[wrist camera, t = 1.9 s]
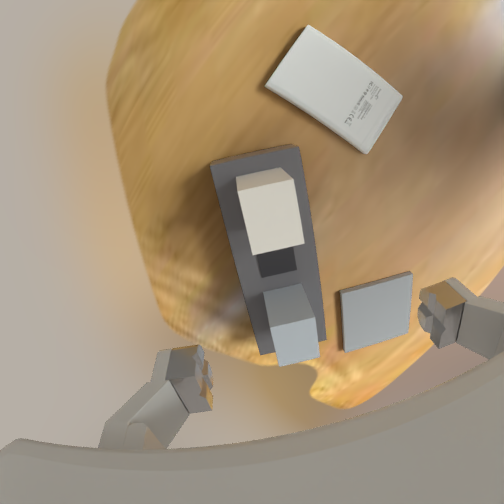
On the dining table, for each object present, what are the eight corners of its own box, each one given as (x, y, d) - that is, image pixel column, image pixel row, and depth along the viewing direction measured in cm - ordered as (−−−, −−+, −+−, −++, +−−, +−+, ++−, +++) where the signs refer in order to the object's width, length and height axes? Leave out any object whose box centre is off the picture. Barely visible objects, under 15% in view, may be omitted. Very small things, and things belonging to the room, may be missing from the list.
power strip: (291, 144, 29) (300, 147, 25) (319, 322, 38) (327, 342, 34) (212, 161, 29) (209, 166, 26) (257, 336, 38) (260, 358, 34)
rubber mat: (409, 271, 36) (412, 273, 35) (405, 329, 40) (408, 332, 40) (339, 290, 36) (341, 293, 36) (343, 349, 40) (344, 352, 40)
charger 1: (277, 164, 28) (293, 179, 21) (286, 213, 30) (304, 243, 23) (235, 173, 29) (237, 191, 21) (247, 222, 31) (252, 255, 23)
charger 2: (301, 283, 31) (315, 317, 26) (307, 321, 33) (319, 357, 28) (263, 292, 32) (269, 327, 26) (271, 329, 34) (279, 366, 28)
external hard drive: (304, 27, 25) (397, 96, 28) (263, 87, 27) (361, 153, 30) (308, 23, 23) (404, 96, 26) (265, 85, 26) (367, 155, 29)
